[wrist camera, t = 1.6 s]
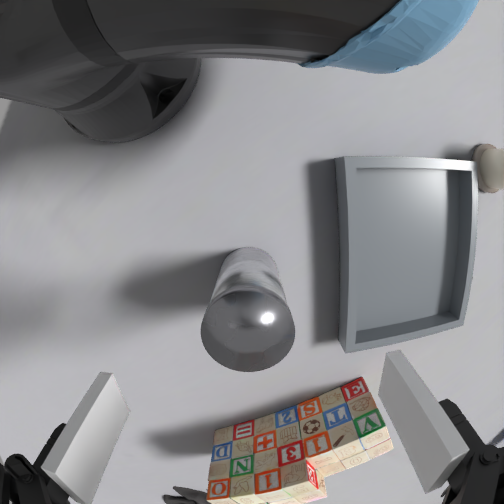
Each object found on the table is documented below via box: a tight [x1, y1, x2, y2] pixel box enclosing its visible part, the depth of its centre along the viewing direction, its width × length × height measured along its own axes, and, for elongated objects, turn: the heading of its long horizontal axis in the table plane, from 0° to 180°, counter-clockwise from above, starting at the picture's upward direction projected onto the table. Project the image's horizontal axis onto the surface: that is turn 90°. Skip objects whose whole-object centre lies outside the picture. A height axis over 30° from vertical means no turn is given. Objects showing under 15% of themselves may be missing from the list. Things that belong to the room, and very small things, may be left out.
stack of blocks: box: [207, 377, 394, 504], centre depth 28 cm, size 21×6×12 cm, turn 117°
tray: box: [334, 156, 478, 353], centre depth 26 cm, size 19×16×3 cm
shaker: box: [201, 247, 295, 372], centre depth 23 cm, size 6×6×11 cm
